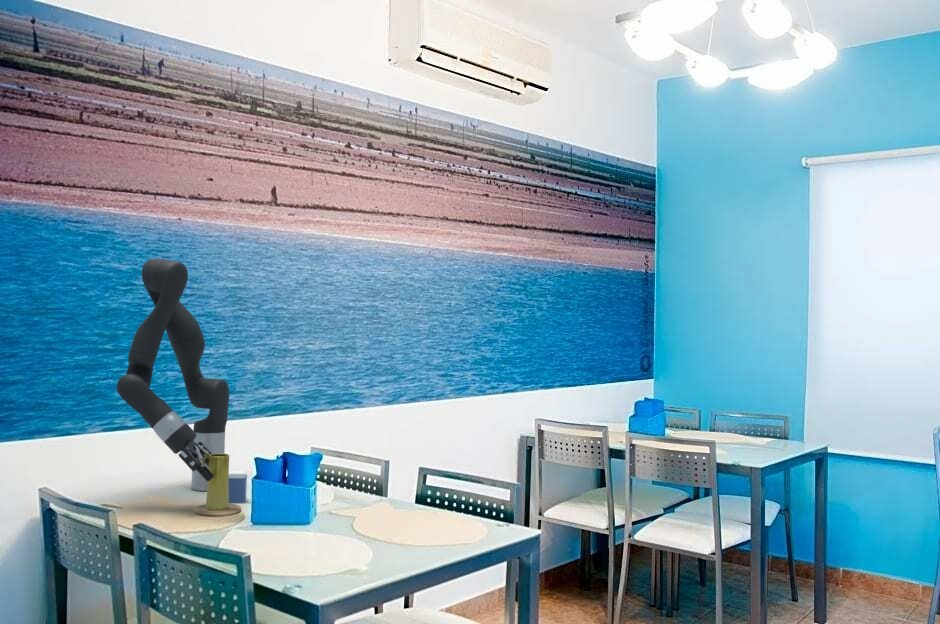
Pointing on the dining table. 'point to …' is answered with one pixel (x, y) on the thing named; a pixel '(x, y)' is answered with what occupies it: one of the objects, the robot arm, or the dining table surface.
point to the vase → (218, 482)
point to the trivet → (218, 511)
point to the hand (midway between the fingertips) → (215, 476)
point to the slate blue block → (237, 486)
